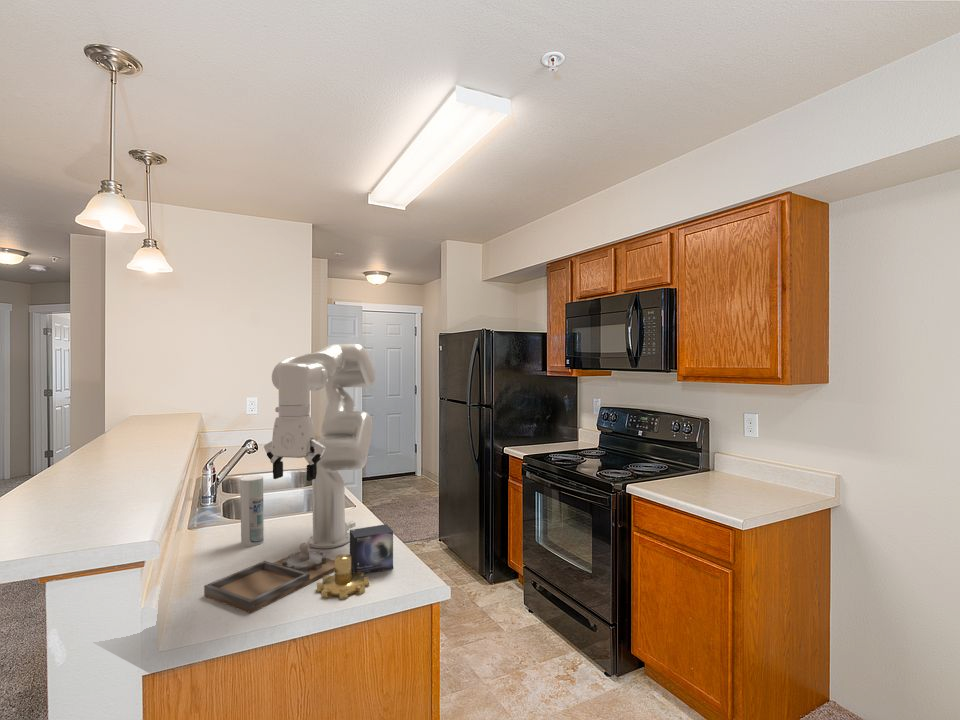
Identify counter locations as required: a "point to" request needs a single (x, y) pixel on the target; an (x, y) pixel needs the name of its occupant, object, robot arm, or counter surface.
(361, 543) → the small box
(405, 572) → the counter surface
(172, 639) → the counter surface
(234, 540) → the counter surface
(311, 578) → the carrier plate
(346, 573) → the gear
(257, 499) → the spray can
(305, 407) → the robot arm
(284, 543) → the counter surface
